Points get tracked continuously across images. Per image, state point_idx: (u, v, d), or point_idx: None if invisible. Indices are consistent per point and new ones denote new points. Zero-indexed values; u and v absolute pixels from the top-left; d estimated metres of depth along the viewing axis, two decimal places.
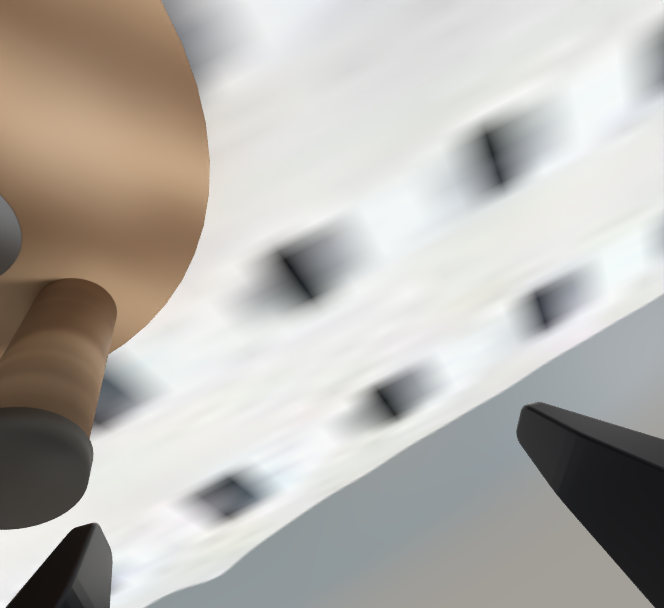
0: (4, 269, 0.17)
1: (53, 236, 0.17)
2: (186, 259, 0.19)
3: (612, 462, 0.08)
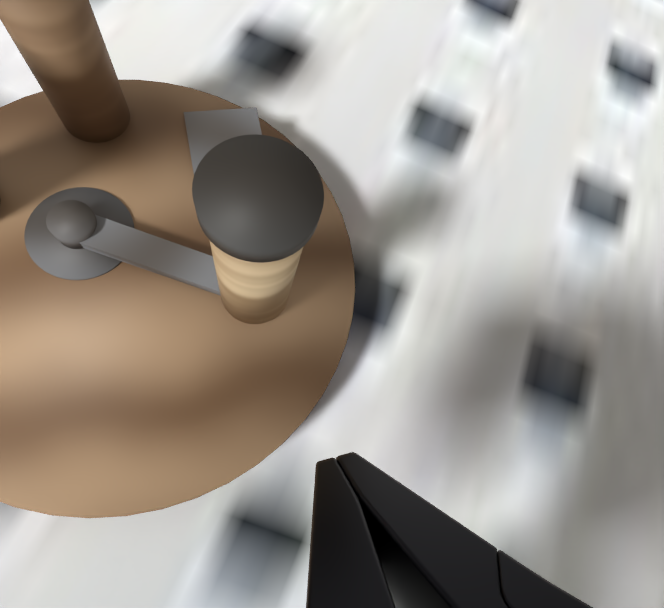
0: (32, 217, 0.19)
1: (2, 261, 0.19)
2: None
3: (382, 537, 0.07)
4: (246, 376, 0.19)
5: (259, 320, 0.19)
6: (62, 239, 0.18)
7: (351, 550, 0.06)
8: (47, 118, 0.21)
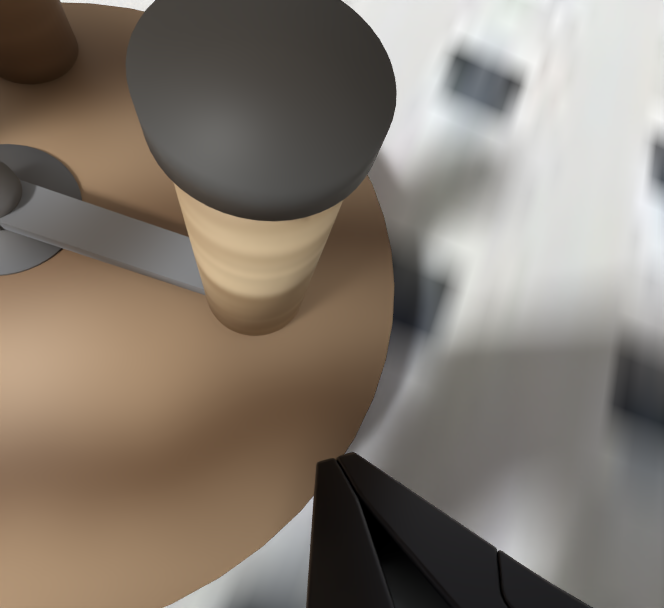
0: None
1: None
2: None
3: (382, 537, 0.07)
4: (245, 413, 0.13)
5: (262, 330, 0.13)
6: None
7: (351, 550, 0.06)
8: None
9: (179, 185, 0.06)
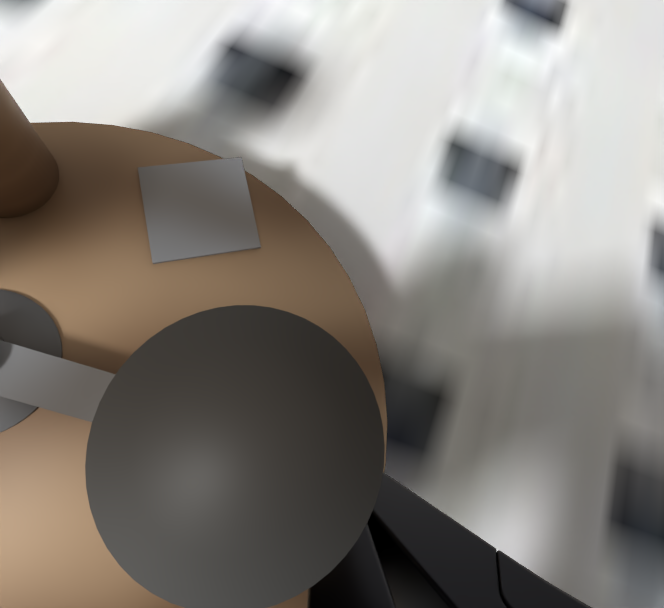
0: None
1: None
2: None
3: (381, 537, 0.07)
4: None
5: None
6: None
7: (352, 550, 0.06)
8: None
9: None
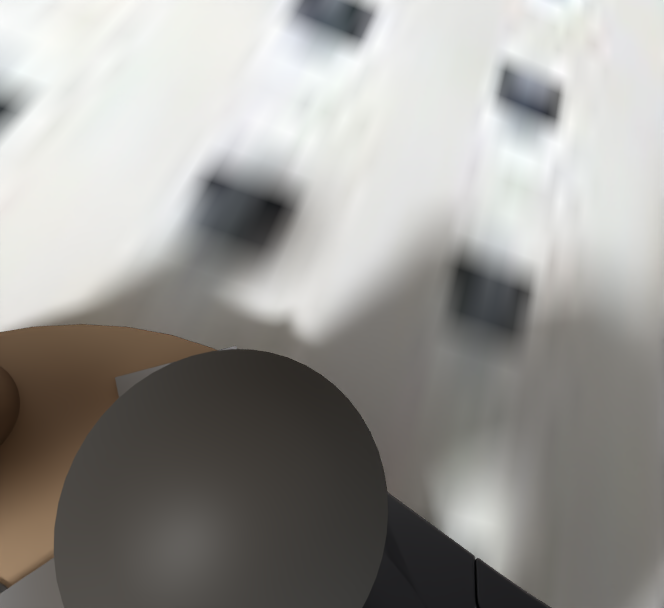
0: None
1: None
2: None
3: None
4: None
5: None
6: None
7: None
8: None
9: None
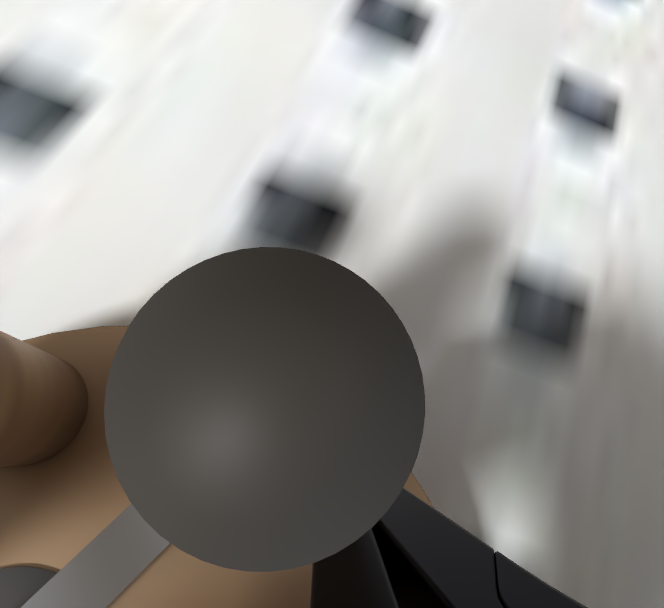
0: None
1: None
2: None
3: (380, 538, 0.07)
4: None
5: None
6: None
7: (354, 549, 0.06)
8: None
9: None
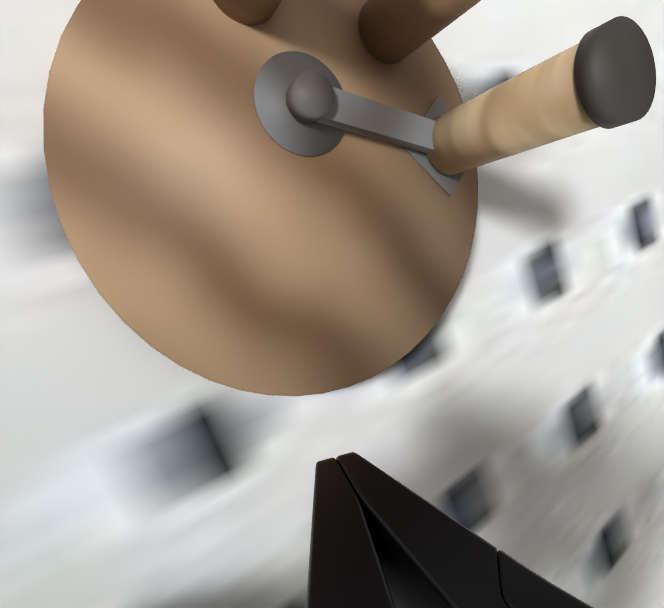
0: (280, 55, 0.19)
1: (232, 64, 0.18)
2: None
3: (382, 537, 0.07)
4: (314, 325, 0.20)
5: (464, 170, 0.23)
6: (315, 115, 0.18)
7: (351, 550, 0.06)
8: None
9: (592, 118, 0.15)
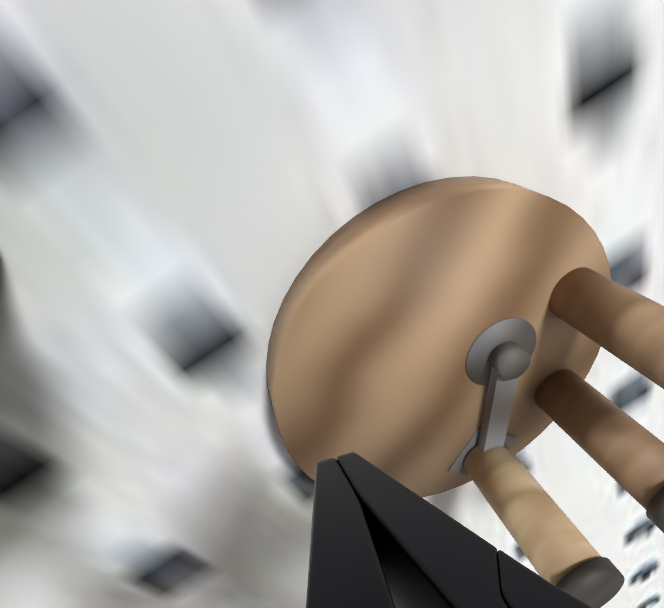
0: (532, 329, 0.24)
1: (522, 300, 0.23)
2: (569, 213, 0.21)
3: (382, 537, 0.07)
4: (337, 411, 0.23)
5: (471, 477, 0.28)
6: (500, 370, 0.23)
7: (351, 550, 0.06)
8: (576, 361, 0.27)
9: (558, 585, 0.21)
